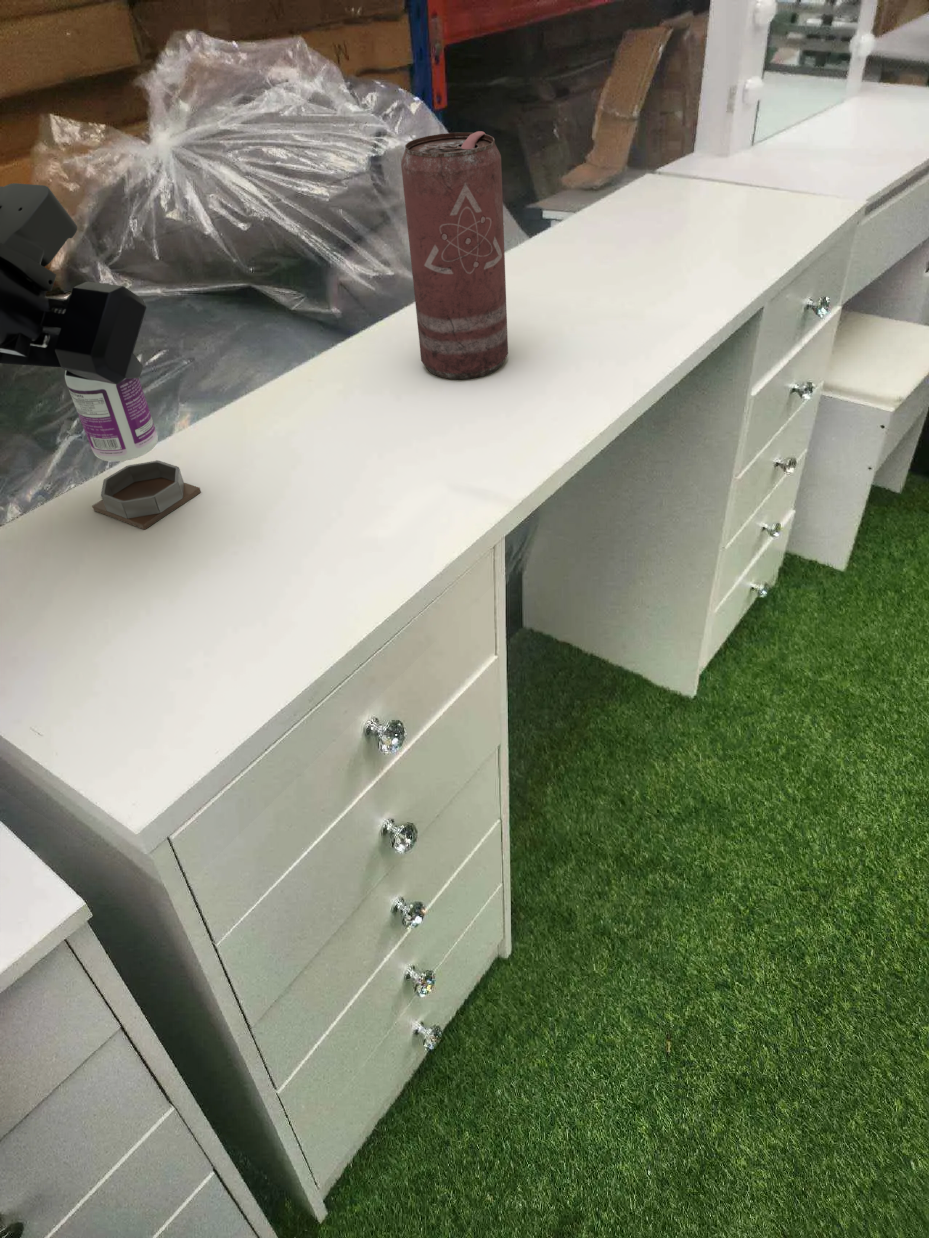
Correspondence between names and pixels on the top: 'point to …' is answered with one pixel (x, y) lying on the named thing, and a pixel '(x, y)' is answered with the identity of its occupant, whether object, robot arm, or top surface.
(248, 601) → the top surface
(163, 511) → the octagonal bottle holder
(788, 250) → the top surface
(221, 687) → the top surface
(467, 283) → the can
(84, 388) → the pill bottle
